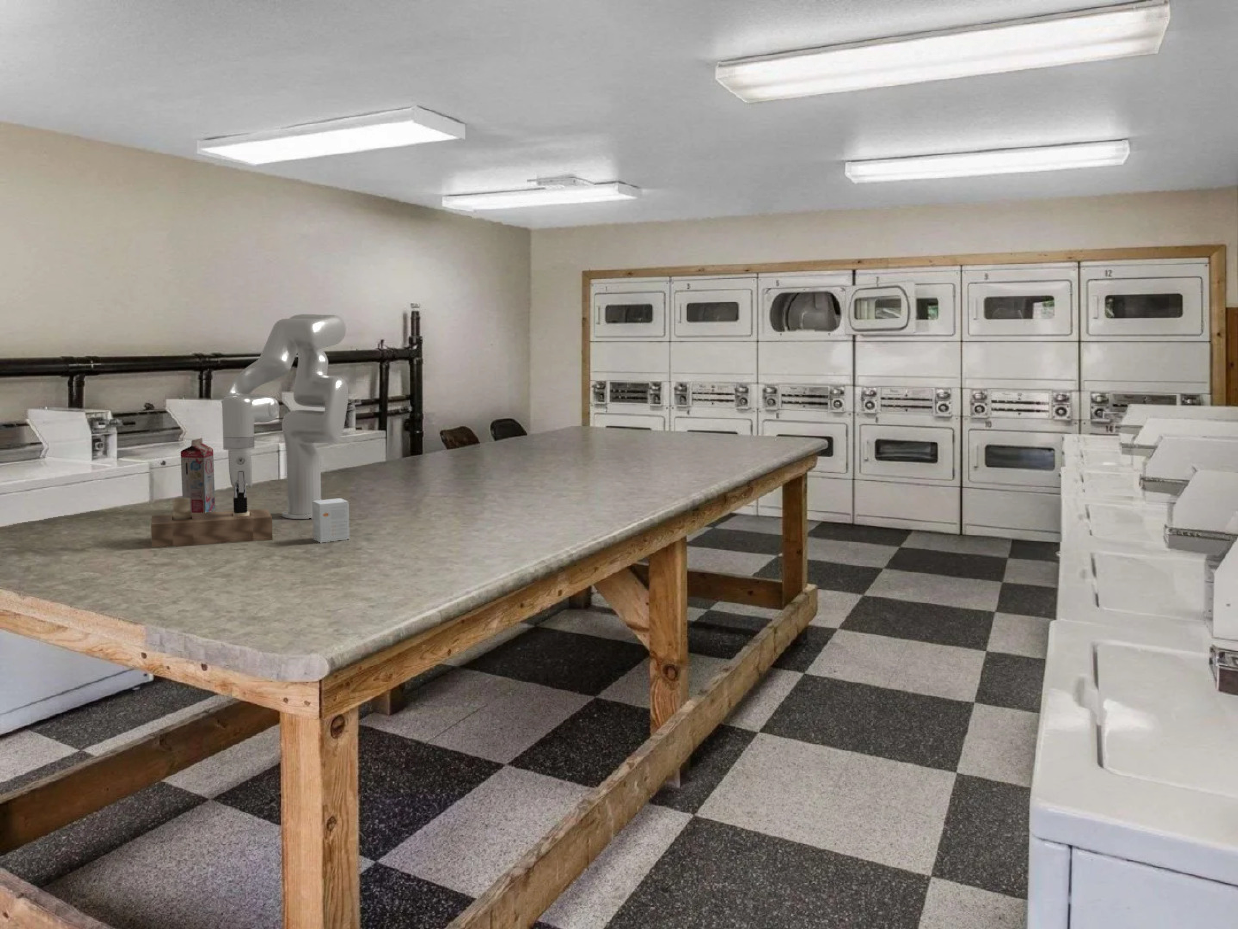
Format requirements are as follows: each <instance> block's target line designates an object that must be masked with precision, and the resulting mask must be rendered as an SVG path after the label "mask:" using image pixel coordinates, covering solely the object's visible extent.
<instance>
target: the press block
mask: <svg viewBox="0 0 1238 929" xmlns="http://www.w3.org/2000/svg"><path fill="white" fill-rule="evenodd" d="M247 511H249V515H250V516H239V517H233V512H234V510H228V511H227V510H226V511H223V510H222V511H212V512H206V513H191V519H188V520H173V513H171V514H157V515H156V514H155V515H154V514H152V515H151V517H150V518H151V519H150V520H151V521H150V531H151V532H150V535H151V549H155V548H154V547H162V548H168V547H167V546H176V547H186V546H187V547H188V546H201V544H204V545H214V544H215V543H218V544H227V543H226V542H232V543H237V542H236V541H246V542H255V541H254V540H260V541H270V540H272V541H273V537H274V536H273V517H272V515H271V512H270V511H269V510H268V508H263V509H247ZM215 545H216V544H215Z"/></svg>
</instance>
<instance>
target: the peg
mask: <svg viewBox="0 0 1238 929" xmlns="http://www.w3.org/2000/svg"><path fill="white" fill-rule="evenodd" d="M172 514H173V520H188V519H191V510H190V498H182V497H176V498H172Z"/></svg>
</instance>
